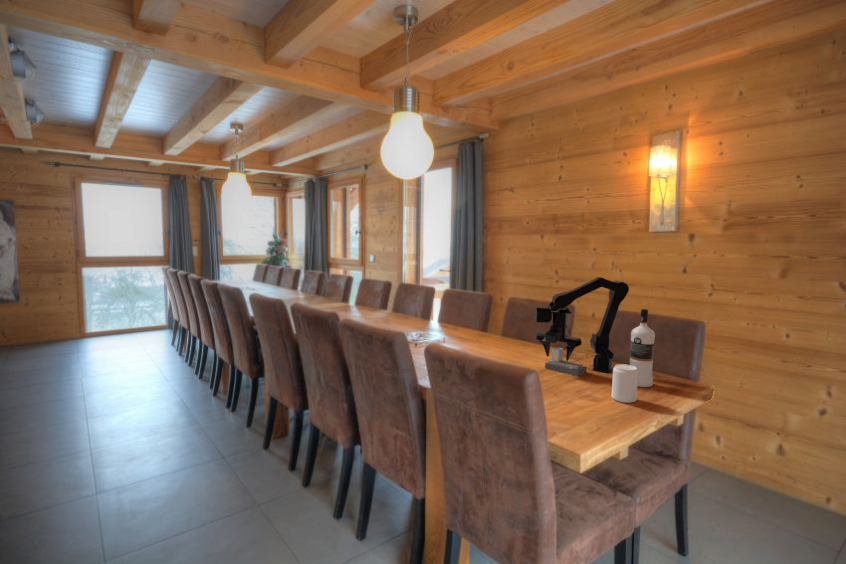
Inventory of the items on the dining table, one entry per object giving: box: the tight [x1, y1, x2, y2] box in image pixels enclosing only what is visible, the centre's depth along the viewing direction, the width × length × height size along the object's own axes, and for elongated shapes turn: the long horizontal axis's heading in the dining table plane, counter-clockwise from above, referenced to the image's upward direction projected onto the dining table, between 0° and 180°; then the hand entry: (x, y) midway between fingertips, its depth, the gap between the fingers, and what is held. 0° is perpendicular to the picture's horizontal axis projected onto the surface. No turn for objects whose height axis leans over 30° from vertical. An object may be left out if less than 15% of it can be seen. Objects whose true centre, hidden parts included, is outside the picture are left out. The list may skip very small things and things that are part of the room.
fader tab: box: [551, 346, 564, 362], centre depth 196 cm, size 3×4×6 cm
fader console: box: [544, 359, 587, 377], centre depth 194 cm, size 15×8×4 cm, turn 46°
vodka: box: [629, 308, 656, 388], centre depth 176 cm, size 9×9×30 cm
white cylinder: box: [611, 363, 638, 404], centre depth 160 cm, size 8×8×12 cm
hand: (557, 358), depth 196 cm, fingers open, 9 cm apart
